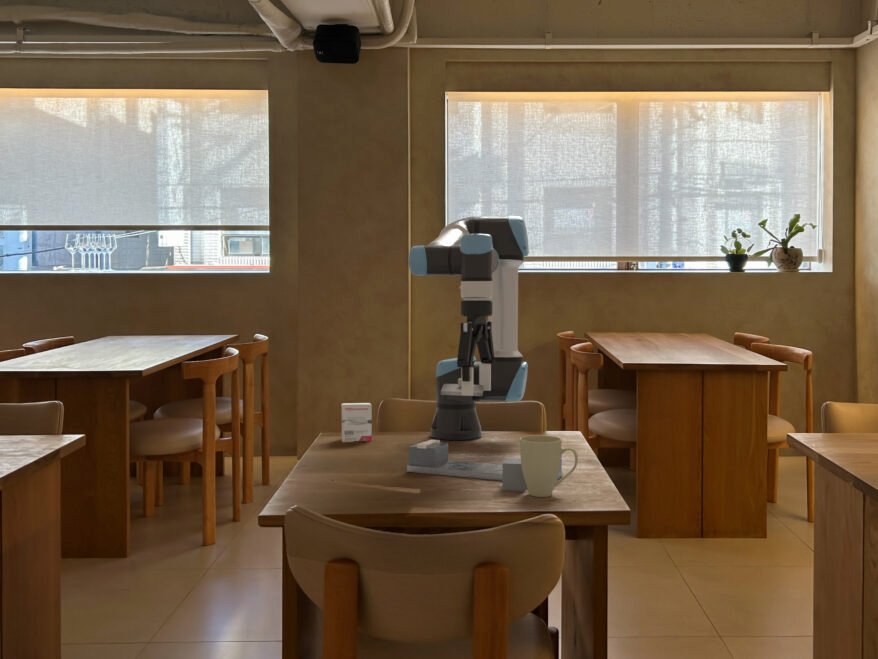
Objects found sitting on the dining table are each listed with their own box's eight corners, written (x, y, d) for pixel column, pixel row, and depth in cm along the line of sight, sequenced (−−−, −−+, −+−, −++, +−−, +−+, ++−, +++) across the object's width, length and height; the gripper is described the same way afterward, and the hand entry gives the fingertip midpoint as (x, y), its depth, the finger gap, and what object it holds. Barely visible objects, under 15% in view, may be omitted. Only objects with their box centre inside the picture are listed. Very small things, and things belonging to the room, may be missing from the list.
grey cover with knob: (482, 403, 195) (482, 381, 195) (440, 401, 196) (440, 380, 196) (483, 397, 205) (484, 377, 205) (443, 396, 206) (443, 375, 206)
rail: (424, 464, 214) (424, 438, 213) (562, 476, 199) (562, 448, 199) (407, 471, 204) (407, 444, 204) (550, 485, 190) (550, 456, 189)
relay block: (504, 485, 190) (504, 459, 190) (526, 486, 189) (526, 459, 189) (502, 490, 185) (502, 463, 185) (525, 491, 184) (525, 464, 184)
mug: (534, 501, 174) (535, 444, 174) (511, 491, 183) (512, 436, 183) (579, 496, 179) (580, 440, 178) (555, 487, 188) (555, 433, 187)
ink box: (370, 442, 246) (370, 401, 246) (372, 445, 241) (371, 404, 241) (341, 442, 245) (341, 402, 245) (342, 445, 240) (341, 404, 240)
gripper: (479, 299, 211) (479, 387, 212) (441, 299, 191) (442, 397, 192) (508, 299, 208) (507, 388, 209) (472, 300, 187) (472, 399, 188)
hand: (476, 392), depth 200 cm, fingers closed on grey cover with knob, 10 cm apart
